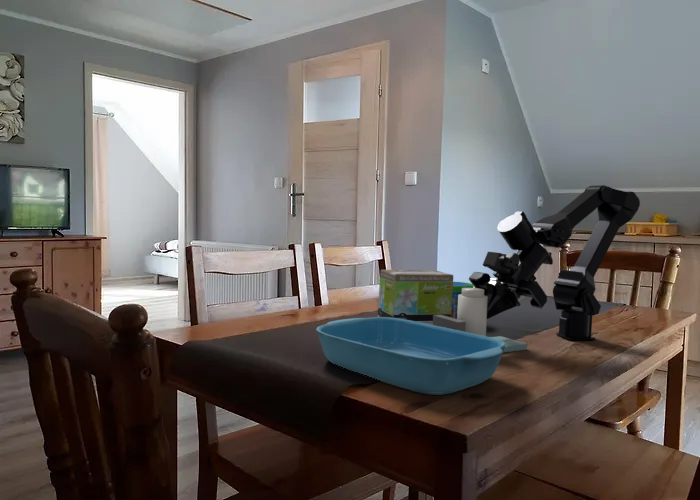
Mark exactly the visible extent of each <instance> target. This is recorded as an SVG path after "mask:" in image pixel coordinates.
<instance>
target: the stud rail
mask: <svg viewBox="0 0 700 500" xmlns="http://www.w3.org/2000/svg"><path fill="white" fill-rule="evenodd" d="M433 325H435V326H440V327H445V328H449V329H454V330H459V331H463V332H465V326H466V322H465V321H462V320H458V319H454V318H451V317H447V316H444V315H433ZM490 337H491V338H495V339H498V340H501V341H503V342H504V343H505V348H504V351H503V353H509V352H519V351H525V350H528V343H525V342H523V341H518V340H514V339H512V338H508V337H505V336H502V335H499V336H490Z"/></svg>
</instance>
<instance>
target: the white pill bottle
mask: <svg viewBox="0 0 700 500" xmlns="http://www.w3.org/2000/svg"><path fill="white" fill-rule="evenodd" d="M487 299H488V297H487V296H484V289H479V288H475V287H473V288H462V294H459V295H458V311H457V319H458V320H462V321H465V322H466V326H465V332H468V333H473V334H478V335H483V336H487V321H488V319H487Z"/></svg>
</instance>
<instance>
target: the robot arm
mask: <svg viewBox="0 0 700 500" xmlns="http://www.w3.org/2000/svg"><path fill="white" fill-rule="evenodd" d="M640 205H641V201H640V198H639V197H638V195H637V194H636V193H635V192H634V191H626V190H625V191H624V190H621V189H616V188H612V187H610V186H607V185H604V184H601V185H598V184H597V185H589V186H587V187H586V188H585V189H584V191H583V192H582V193H580V194H579V195H577V197H575V198H574V199H572V201H570V203H568V204H567V205H566V206H564V207H563V208H562V209H560V211H558V212H557V213H555V214H552V215H549V216H545V217H543V218H540V219H539V220H537V221H535V222H534V223H531V222H530V221H529V219H528V217H527V214H526V213H525V212H524V211H521V210H520V211H517V210H516V211H515V212H514V213H513V214H511V215H508V216H507V217H505V218H504V219H501V220H500V222H499V223H498V225H497V231H498V232H499V234H500V235H501V237H502V238H503V240H504V241H505V243H506V244H507V245H508V247H509V248H510V249H511V250H512V251H517V252H508V253H507V254H505V253H502V252H496V251H487V252H486V255H485V257H484V261H483V263H482V266H483V267H485V268H488V269H490V270H491V271H493V272H492V275H493V277H491V275H490V274H489V273H487V272H481V271H473V272H472V273H471V274H470V276H469V277H468V280H469V283H470V284H473V288H479V289H484V296H487V297H488V299H487V320H488V319H491V318H493V317H495V316H497V315H498V314H502V313H503V312H506V311H508V310H511V309H513V308H516V307H520V306H521V302H520V301H521V300H522V299H525V297H528V298H532V299H531V300H530V301H529V302H530V306H531V307H532V308H538V309H543V307H545V304H546V303H547V302H548V295H547V294H546V292H545V291H544V290H543V288H542V287H541V285H540V283H539V282H538V281H537V277H536V275H535V274H536V273H537V272H538V271H539V269H540V268H541V266H542V265H553V264H554V260H553V257H552V252H549V251H548V249H546V247H547V248H555V249H556V248H557V249H558V248H561V247H563V246H564V245H565V244H566V243H567V241H568V240H570V238H571V237H572V235H573V229H574V228H575V227H576V226H577V225H578V224H580V223H581V222H583V220H584V219H585V218H587V217H588V216H589V215H590V214H592V213H593V212H594V211H595V210H596V209H597V210H596V211H597V216H598V220H597V223H596V224H595V226H594V228H593V230H592V232H591V233H590V236H589V237H588V239H587V241H586V243H585V245H584V247H583V249H582V251H581V253H580V254H579V256H578V258H577V260H576V262H575V264H574V265H573V267H572V268H571V269H570V270H569V269H562V270H561V271H560V272H559V274H558V276H557V279H556V280H555V281H554V282H553V284H554V285H553V286H554V287H553V288H552V295H553V300H554V305H555V310H560V311H561V312H560V314H561V315H560V317H559V323H558V324H559V325H558V332H555V335H557V336H559V337H562V338H564V339H567V340H570V341H594V340H595V341H596V337H594V336H592V331H593V329H592V328H593V316H596V315H599V314H600V310H601V303H599V300H598V299H597V298H596V296H595V292H596V283H595V276H596V274H597V272H598V269H599V268H600V266H601V264H602V262H603V260H604V259H605V256H606V254H607V253H608V251H609V248H610V247H611V245H612V243H613V241H614V239H615V237H616V235H617V233H618V231H619V229H620V228H621V227H623V226H625V225H626V224H627V223H629V222H630V221H631V220H632V219H633V218H634V216H635V215H636V213H637V212H638V211H639V209H640Z"/></svg>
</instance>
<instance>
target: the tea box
mask: <svg viewBox="0 0 700 500" xmlns="http://www.w3.org/2000/svg"><path fill="white" fill-rule="evenodd" d="M453 282H454V274H450V273H447V272H443V271H439V270H433V269H432V270H431V269H430V270H429V269H428V270H426V269H423V270H422V269H380V272H379V286H378V287H379V288H378V289H379V290H378V305H377V308H378V309H377V317H390V318H399V319H405V320H411V321H416V322H421V323H426V324H430V325H433V315H444V316H447V317H451V312H452V294H453Z"/></svg>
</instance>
